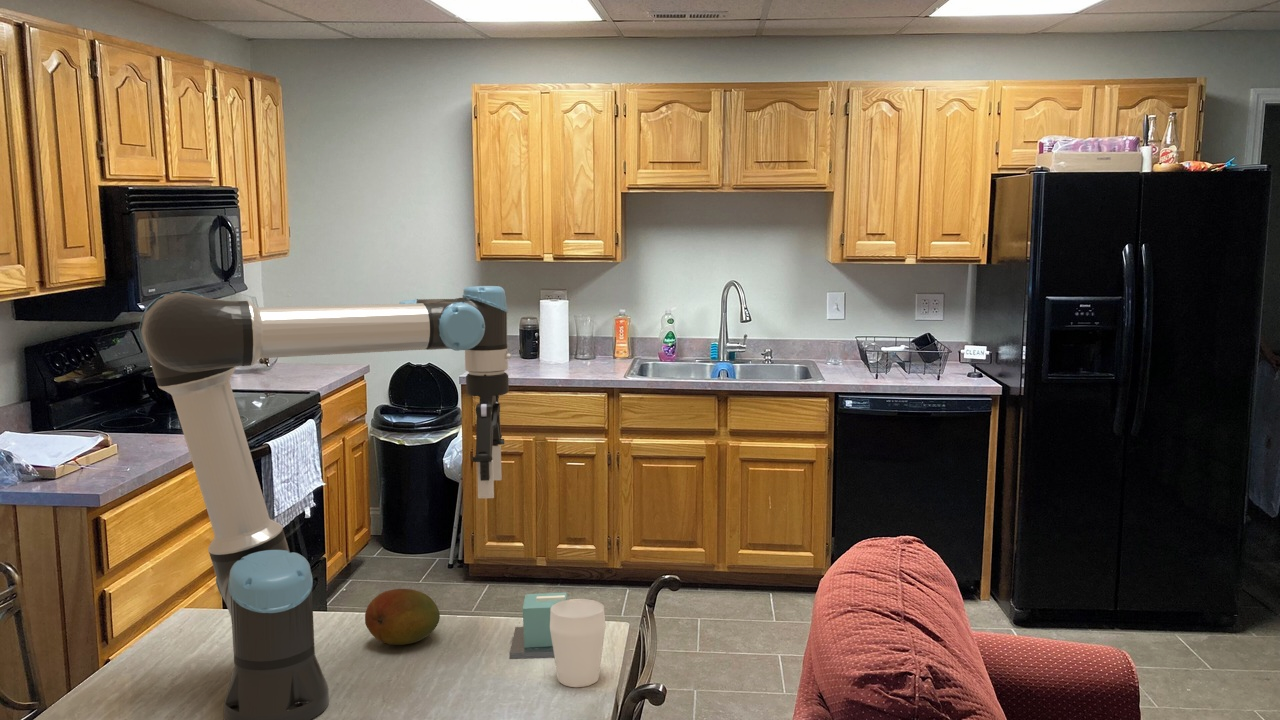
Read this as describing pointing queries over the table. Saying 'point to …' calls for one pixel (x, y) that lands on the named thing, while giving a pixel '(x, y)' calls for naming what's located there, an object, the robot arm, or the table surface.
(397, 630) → the fruit
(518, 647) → the shaft fixture
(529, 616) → the teal block
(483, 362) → the robot arm
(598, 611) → the cup
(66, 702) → the table surface
